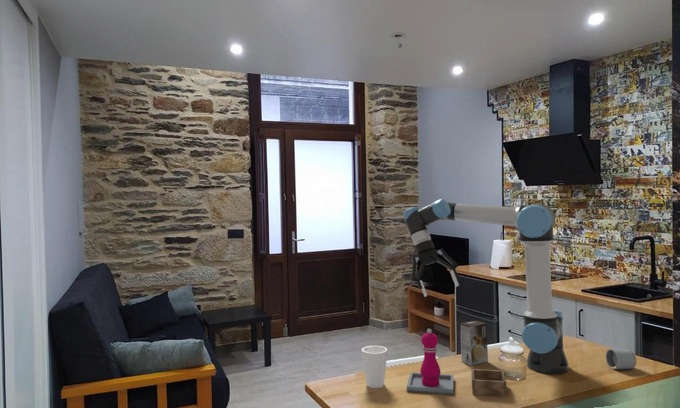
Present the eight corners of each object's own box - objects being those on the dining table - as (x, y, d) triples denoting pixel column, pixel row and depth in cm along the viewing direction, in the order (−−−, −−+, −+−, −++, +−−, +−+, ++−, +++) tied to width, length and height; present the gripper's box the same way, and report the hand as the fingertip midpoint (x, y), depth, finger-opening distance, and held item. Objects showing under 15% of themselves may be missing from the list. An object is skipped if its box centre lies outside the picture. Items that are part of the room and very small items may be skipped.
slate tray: (453, 379, 175) (453, 374, 175) (453, 394, 162) (453, 389, 162) (410, 376, 179) (410, 372, 179) (406, 391, 166) (406, 386, 166)
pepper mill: (416, 381, 173) (415, 327, 173) (433, 378, 175) (432, 325, 175) (427, 388, 166) (425, 332, 166) (444, 385, 168) (443, 330, 168)
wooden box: (503, 384, 170) (503, 370, 170) (506, 397, 159) (506, 382, 159) (471, 382, 172) (471, 368, 172) (472, 394, 162) (472, 380, 162)
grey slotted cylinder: (638, 371, 179) (637, 351, 179) (617, 372, 179) (616, 352, 179) (620, 362, 190) (619, 343, 190) (600, 363, 189) (600, 344, 189)
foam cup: (378, 391, 166) (377, 355, 166) (357, 386, 172) (356, 350, 172) (392, 383, 173) (391, 348, 173) (371, 378, 179) (370, 344, 179)
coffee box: (477, 357, 199) (476, 319, 199) (488, 362, 194) (487, 323, 194) (460, 361, 195) (459, 322, 195) (471, 366, 189) (470, 326, 189)
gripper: (449, 236, 201) (468, 283, 194) (394, 253, 199) (411, 301, 192) (452, 231, 194) (472, 279, 187) (395, 249, 192) (413, 299, 185)
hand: (441, 291), depth 190 cm, fingers open, 13 cm apart
